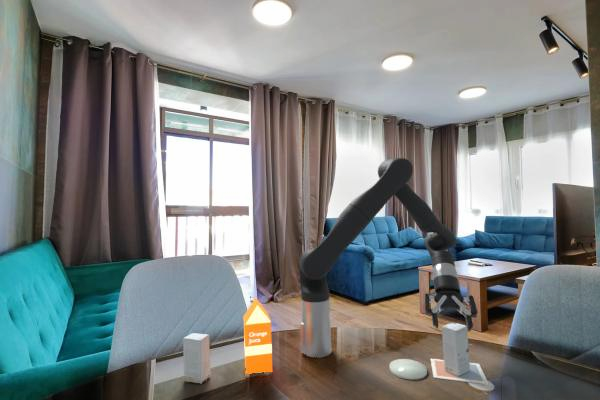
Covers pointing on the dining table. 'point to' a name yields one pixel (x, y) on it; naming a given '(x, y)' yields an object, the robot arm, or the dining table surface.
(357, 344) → the dining table surface
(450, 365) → the skincare box
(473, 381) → the blue and orange card
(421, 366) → the coaster
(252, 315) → the orange juice
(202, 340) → the skincare box
